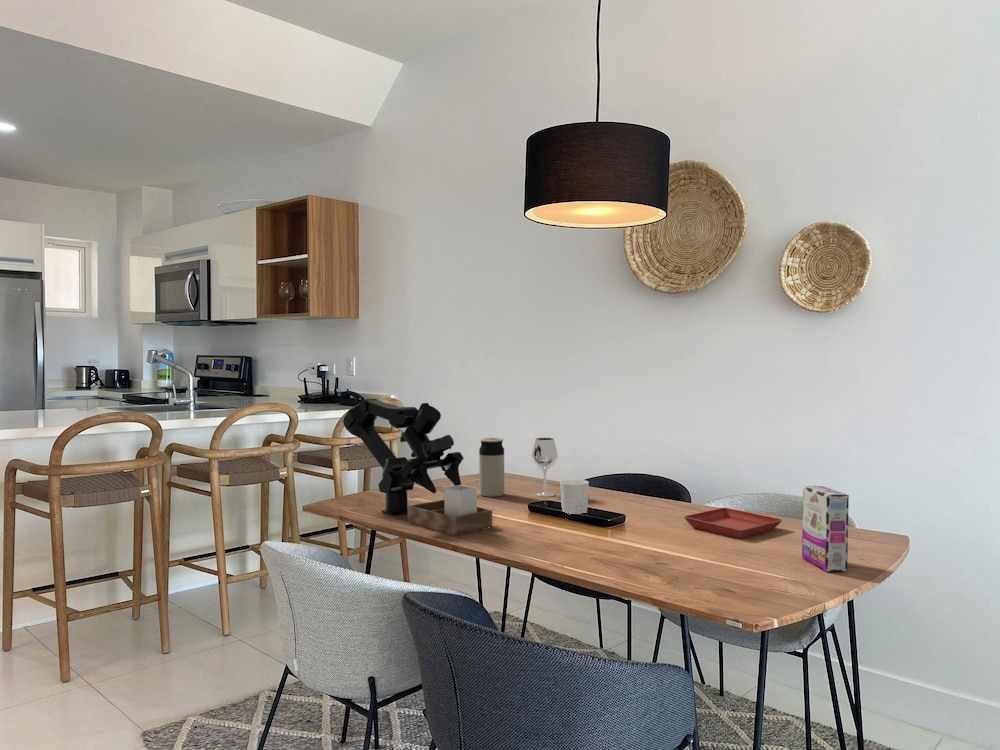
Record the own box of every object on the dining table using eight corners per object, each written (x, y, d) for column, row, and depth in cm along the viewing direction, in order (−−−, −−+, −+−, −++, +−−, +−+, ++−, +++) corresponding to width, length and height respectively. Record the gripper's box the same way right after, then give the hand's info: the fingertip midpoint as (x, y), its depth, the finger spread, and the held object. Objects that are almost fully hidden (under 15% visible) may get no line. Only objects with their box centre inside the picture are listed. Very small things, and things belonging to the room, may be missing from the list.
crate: (407, 522, 208) (407, 505, 207) (445, 515, 216) (445, 498, 216) (454, 535, 193) (453, 517, 193) (492, 527, 202) (492, 509, 202)
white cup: (587, 521, 208) (587, 484, 207) (558, 520, 209) (558, 484, 209) (590, 515, 215) (589, 479, 215) (562, 513, 217) (562, 479, 217)
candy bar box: (849, 572, 160) (850, 494, 160) (826, 573, 160) (827, 495, 159) (822, 557, 171) (823, 485, 171) (800, 558, 171) (801, 485, 170)
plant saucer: (783, 531, 197) (783, 518, 197) (741, 542, 186) (741, 529, 186) (724, 519, 211) (724, 507, 211) (682, 528, 200) (682, 516, 200)
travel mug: (497, 498, 240) (497, 441, 239) (475, 496, 243) (474, 439, 243) (508, 493, 247) (508, 438, 246) (486, 491, 251) (486, 437, 250)
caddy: (444, 525, 201) (444, 488, 201) (460, 521, 205) (460, 484, 205) (460, 529, 197) (460, 490, 197) (476, 525, 201) (476, 487, 201)
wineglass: (558, 497, 240) (558, 440, 240) (532, 497, 240) (532, 440, 240) (556, 492, 248) (556, 437, 248) (531, 492, 249) (531, 437, 248)
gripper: (408, 428, 200) (436, 476, 193) (459, 423, 214) (487, 467, 207) (389, 455, 206) (416, 502, 199) (439, 447, 219) (466, 491, 213)
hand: (447, 489), depth 204 cm, fingers open, 9 cm apart
